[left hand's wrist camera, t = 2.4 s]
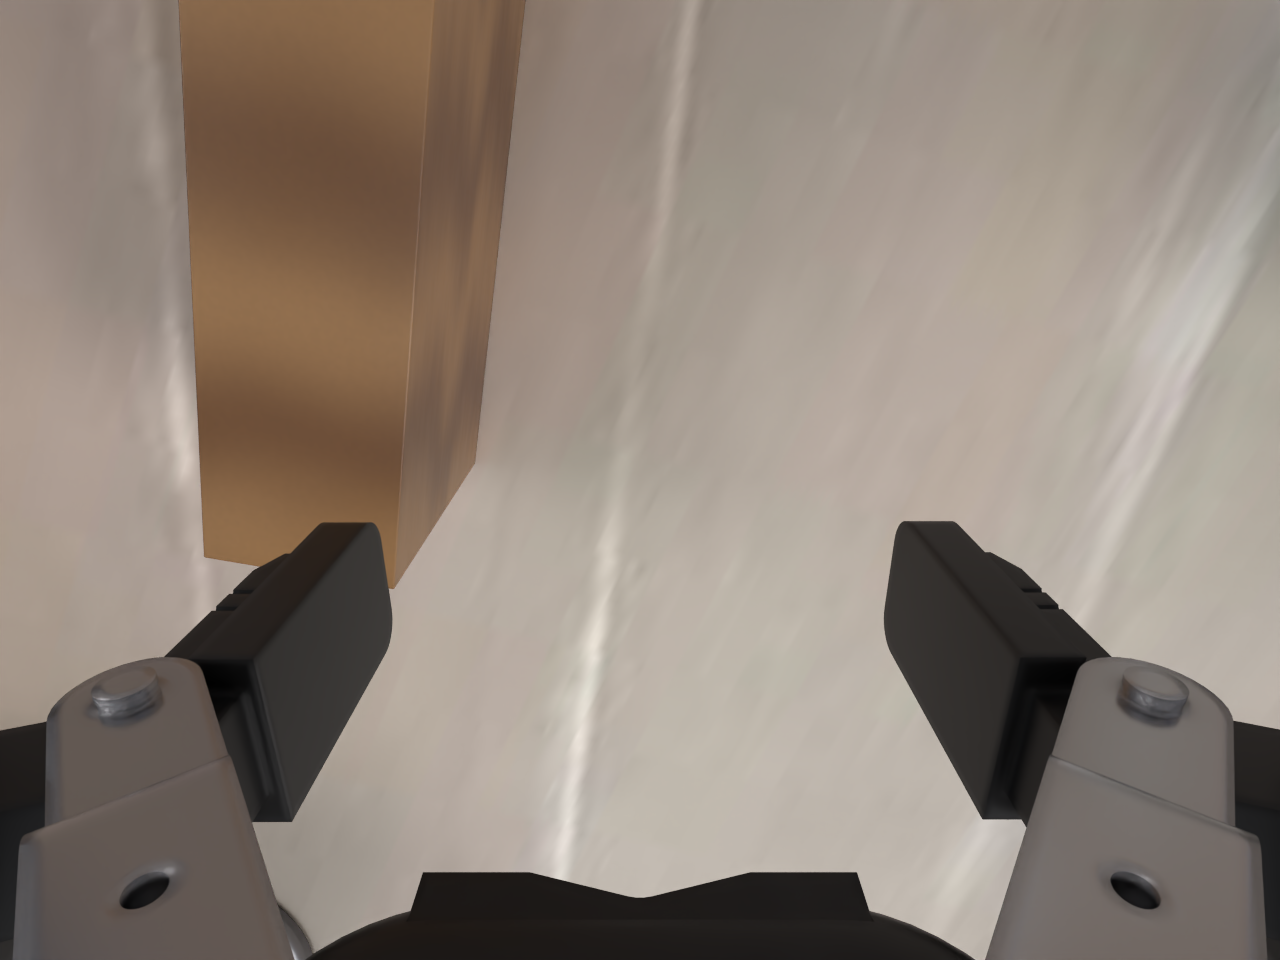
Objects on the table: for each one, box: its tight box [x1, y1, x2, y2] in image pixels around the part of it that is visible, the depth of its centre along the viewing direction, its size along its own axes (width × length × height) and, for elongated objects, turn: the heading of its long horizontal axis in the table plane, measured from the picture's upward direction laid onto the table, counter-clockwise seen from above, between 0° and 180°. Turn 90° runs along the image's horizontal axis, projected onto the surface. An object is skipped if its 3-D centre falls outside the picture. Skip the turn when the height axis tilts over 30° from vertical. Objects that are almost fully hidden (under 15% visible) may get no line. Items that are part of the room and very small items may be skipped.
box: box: [179, 0, 525, 589], centre depth 24 cm, size 27×6×12 cm, turn 169°
